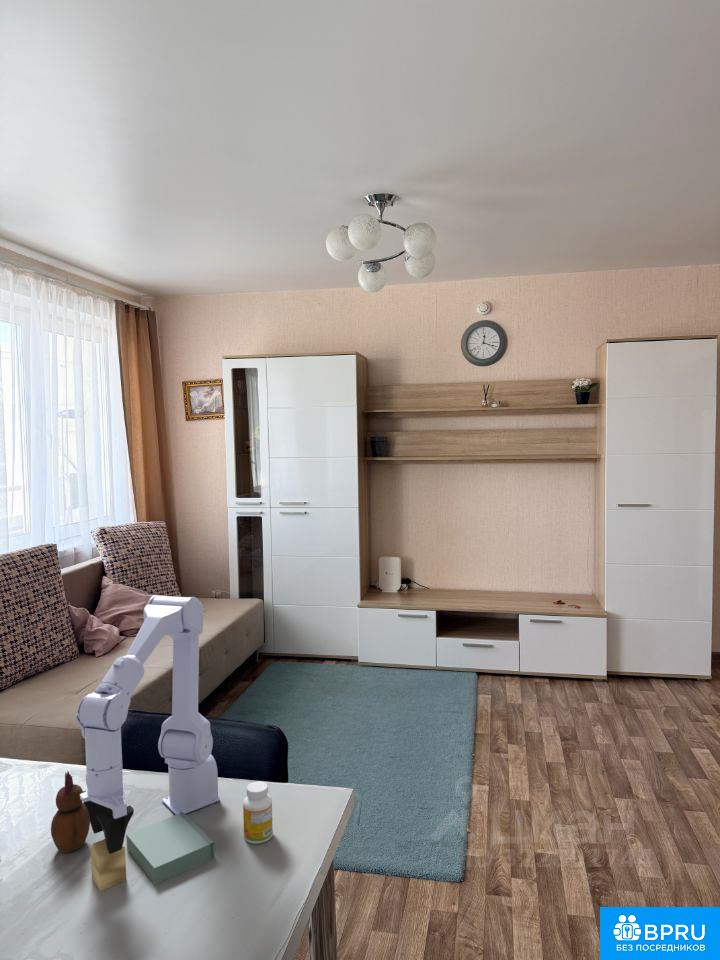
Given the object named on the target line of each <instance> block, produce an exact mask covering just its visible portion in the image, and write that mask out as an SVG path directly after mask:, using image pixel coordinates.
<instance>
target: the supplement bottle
mask: <svg viewBox="0 0 720 960" xmlns="http://www.w3.org/2000/svg"><path fill="white" fill-rule="evenodd" d="M268 785H269V784H267V783H266V782H264V781H254V782H250V783H249V784H247V786H246V797H244V799H243V803H242V809H243V810H242V811H243V812H242V814H243V816H242V817H243V818H242V819H243V837H244V840H245V841H246V842H247V843H249V844H253V845H258V844H264V843H266V842H268V841H269V840H271V839H272V837H273V832H274V830H273V829H274V828H273V826H274V825H273V800H272V797H271V795H270V794H269V786H268Z"/></svg>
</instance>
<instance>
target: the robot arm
mask: <svg viewBox="0 0 720 960" xmlns="http://www.w3.org/2000/svg"><path fill="white" fill-rule="evenodd" d="M203 628H204V605H203V604H202V602H201V601H200V600H199V598H197V597H195V596H189V597H188V596H173V595H172V596H170V595H161V594H160V595H159V594H154V595H152V596H150V598H149V600H148V601H147V603H146V605H145V606H144V608H143V623H142V625H141V627H140V628H139V630H138V633H137V634H136V636H135V638H134V640H133V642H132V643H131V645H130V647H129V648H128V650H127V652H126V654H125V655H123V656H119V657H117V658H116V659H115V660H114V661H113V663H112V664H111V666H110V668H109V669H108V671H107V672H106V674H105V675H104V677H103V678H102V680H101V681H100V683H99V684H98V686H97V687H96V689H95V690H94V691H93V692H90V693H89V694H87V695H85V696H84V697H83V698H81V701H80V702H79V705H78V707H77V714H75V721H76V723H77V725H78V726H79V727H80V729H81V736H82V737H83V738H84V745H85V769H86V771H85V772H86V775H85V785H86V788H85V789H86V790H83V792H81V793H80V794H79V796H80V799H81V800H82V802H83V803H84V805H85V807H86V809H87V812H88V816H89V819H90V827H91V829H92V833H93V834H95V835H96V834H98V833H101V832H103V835H104V839H105V841H106V847H107V850H108V852H109V854H111V853H114V852H117V851H119V850H121V849H122V846H123V844H124V842H125V838H126V833H127V832H126V831H127V828H128V825H129V823H130V820H131V819H132V817H133V816H134V808H133V807H132V805H127V803H126V802H127V801H125V784H124V781H123V780H124V777H123V776H124V774H123V754H122V753H123V752H122V725H123V724H124V723H125V722H126V720H127V717H128V713H129V707H130V705H131V701H132V700H131V697H132V696H133V694H134V692H135V690H136V689H137V687H138V685H139V684H140V682H141V680H142V679H143V677H144V676H145V669H144V664H145V662H146V661H147V660H148V659H149V657H150V656H151V654H152V653H153V652H154V650H155V649H156V647H157V646H158V645H159V644H160V642H161V641H162V640H163V638H164V637H165V636H167V635H168V636H169V637H170V638H171V639H172V641H173V642H172V644H173V645H172V689H171V690H172V696H171V697H172V698H171V700H172V701H171V705H172V706H171V707H172V708H171V711H172V712H171V716H169V717H168V718H166V719H165V720H164V721H163V723H162V724H161V731H160V736H159V738H158V743H157V748H158V753H159V755H160V757H161V758H163V759H164V763H165V764H167V765H168V766H167V767H168V792H169V793H168V796H166V797H164V798H162V799H161V801H162V803H163V804H164V805H165V806H166V807H167V808H168V809H169V810H170V811H171V812H172V813H173V814H174V816H175V815H177V814H179V813H182V812H183V813H184V814H185V815H186V814H188V813H189V814H190V813H192V812H193V811H197V810H199V809H201V808H205V807H207V806H210V805H212V804H214V803H217V802H220V800H221V797H220V796H219V782H218V780H219V777H218V776H219V775H218V774H219V773H218V766H217V762H216V759H215V758H214V756H213V755H212V751H213V745H214V738H213V735H212V732H211V722H210V721H209V720H208V719H207V718H206V717H204V716H203V715H202V714H201V713H200V712H199V672H200V671H199V669H200V668H199V667H200V665H199V663H200V635H201V634H203V630H204V629H203Z"/></svg>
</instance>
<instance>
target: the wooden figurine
mask: <svg viewBox="0 0 720 960" xmlns="http://www.w3.org/2000/svg"><path fill="white" fill-rule="evenodd" d="M73 780H74V779H73V776H72V775H71V773H70V771H69V770H67V772H65V773H64V786H62V787H61V788H59V790H58V791H57V793H56V797H55V806H56V808H57V810H56V813H55V814H54V816H53V817H52V820H51V823H50V834H51V835H50V836H51V838H52V840H53V844H54V845H55V847H56V849H57V850H58V851H60V852H63V853H72V852H74V851H76V850H78V849H80V848H81V847H83V845H84V844H85V843H86V841H87V837H88V834H89V831H90V827H91V823H90V819H89V816H88V812H87V809H86V807H85V805H84V803H83V801H82V800H81V799H80V796H79V794H80V793H81V792H83V791H84V790H83V788H82V787H81V786H80V785H78V784H74V781H73Z"/></svg>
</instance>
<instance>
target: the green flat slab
mask: <svg viewBox="0 0 720 960" xmlns="http://www.w3.org/2000/svg"><path fill="white" fill-rule="evenodd" d="M125 838H126V849H128V850H129V851H128V850H127V851H128V852H129V853H130V855H131V854H132V855H131V856H132V858H134V860H135V861H136V862H137V863H138V865H139V866H140V867H141V869H142V870H143V871H144V872H145V874H147V876H148V877H149V878H150V879H151V880H152V882H153V883H154V884H158V883H160V882H163V881H165V880H167V879H169V878H171V877H174V876H177V875H178V874H181V873H183V872H185V871H187V870H189V869H192V868H195V867H197V866H199V865H201V864H204V863H205V862H208V861H211V860H212V859H215V842H214V841H213V839H211V838H210V837H209V835H207V834H206V833H205V832H204V831H203V830H202V829H201V828H200V827H199V826H198V825H197V824H196V823H194V821H193V820H192V819H191V818H189V816H188V815H186V814H184V813H183V812H182V813H179V814H177V815H175V814H174V815H173V816H170V817H167V818H165V819H163V820H160V821H157V822H155V823H152V824H149V825H146V826H145V827H142V828H140V829H136V830H134V831H131V832H129V833H125Z"/></svg>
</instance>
